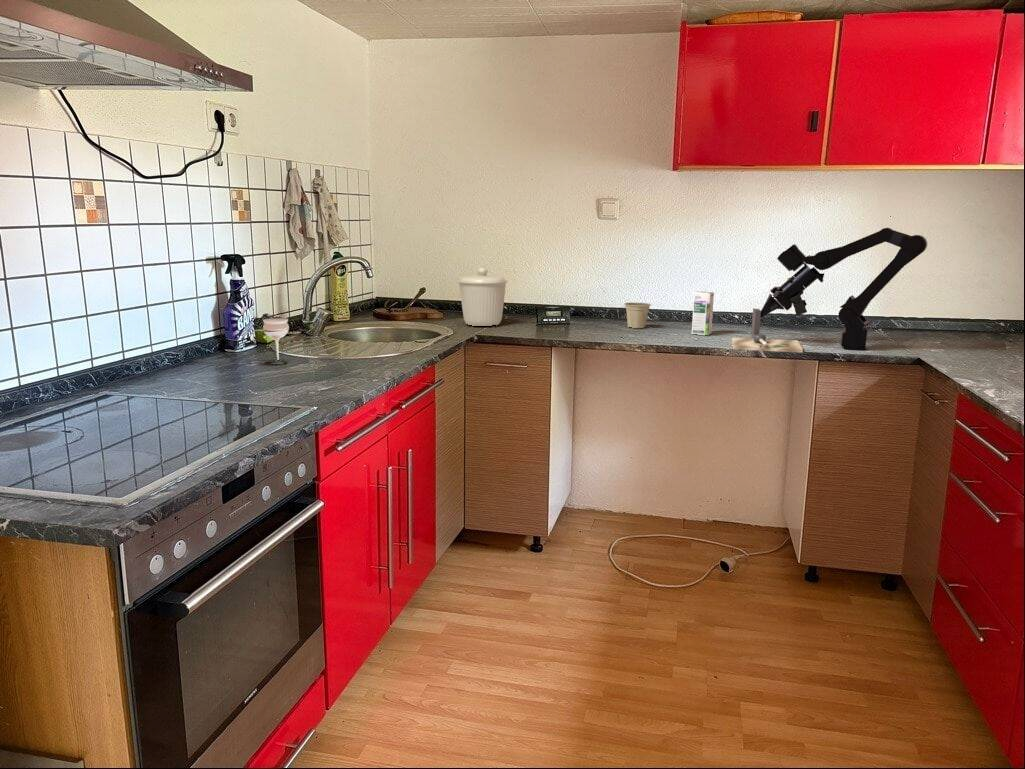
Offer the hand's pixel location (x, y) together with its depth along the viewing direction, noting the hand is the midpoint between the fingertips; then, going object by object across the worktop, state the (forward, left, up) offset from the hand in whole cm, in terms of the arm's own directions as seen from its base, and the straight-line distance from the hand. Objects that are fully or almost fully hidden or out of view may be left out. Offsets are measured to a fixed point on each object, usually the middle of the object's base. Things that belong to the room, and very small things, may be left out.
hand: (760, 316), depth 247 cm
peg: (0, +7, -7) cm, 10 cm away
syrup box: (+18, -12, -9) cm, 23 cm away
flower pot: (+41, -21, -9) cm, 47 cm away
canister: (+96, -11, -9) cm, 97 cm away
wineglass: (+129, +74, -9) cm, 149 cm away
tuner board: (-2, +8, -8) cm, 12 cm away
